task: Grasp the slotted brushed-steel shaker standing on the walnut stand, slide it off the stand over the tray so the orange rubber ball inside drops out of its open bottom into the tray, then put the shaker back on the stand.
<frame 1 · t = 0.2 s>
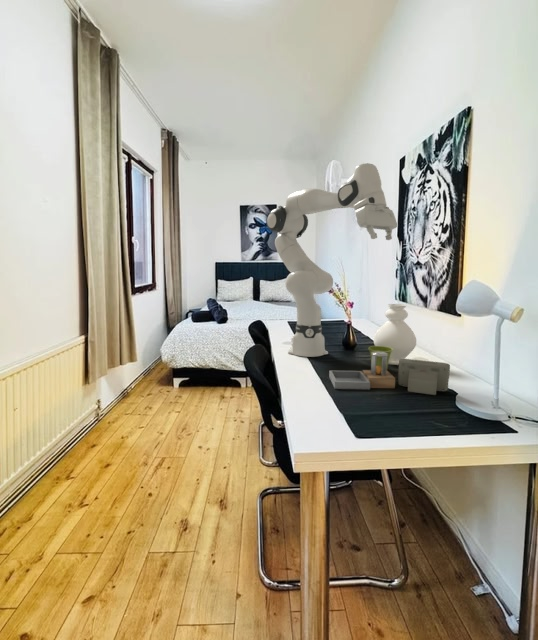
hand: (381, 239, 144), 52 cm above the table, tool tilted 20°, fingers open, 8 cm apart
digital clock: (422, 390, 131), on the table
tray: (348, 382, 137), on the table
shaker: (378, 374, 136), point 3 cm above the table, touching stand
stand: (377, 383, 137), on the table
plant pot: (379, 369, 156), on the table
decorative vase: (393, 361, 169), on the table
ball: (378, 369, 136), point 5 cm above the table, touching stand
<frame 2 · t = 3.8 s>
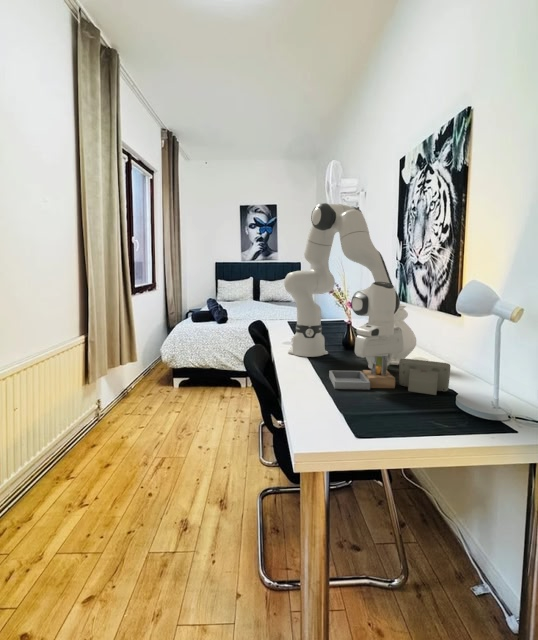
hand: (378, 366, 136), 6 cm above the table, tool pointing down, fingers closed on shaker, 6 cm apart
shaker: (378, 374, 136), point 3 cm above the table, touching gripper, stand
everything else where it was.
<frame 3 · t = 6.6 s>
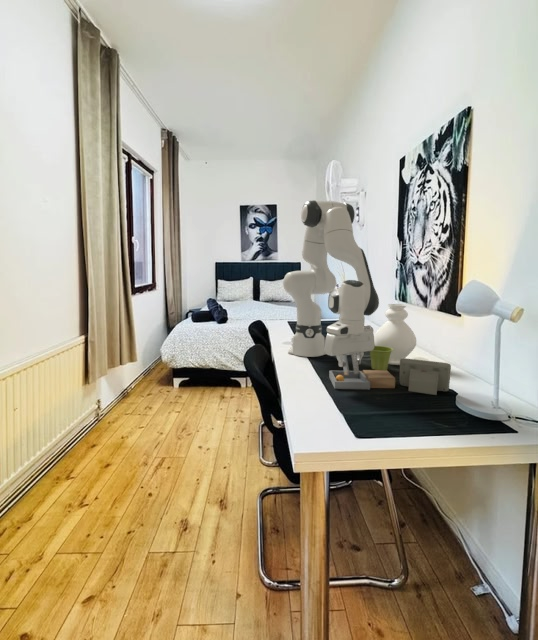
hand: (349, 365, 136), 7 cm above the table, tool pointing down, fingers closed on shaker, 6 cm apart
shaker: (351, 372, 136), point 4 cm above the table, tilted 12°, touching gripper
ball: (339, 379, 135), point 2 cm above the table, tilted 141°, touching tray
everything else where it was.
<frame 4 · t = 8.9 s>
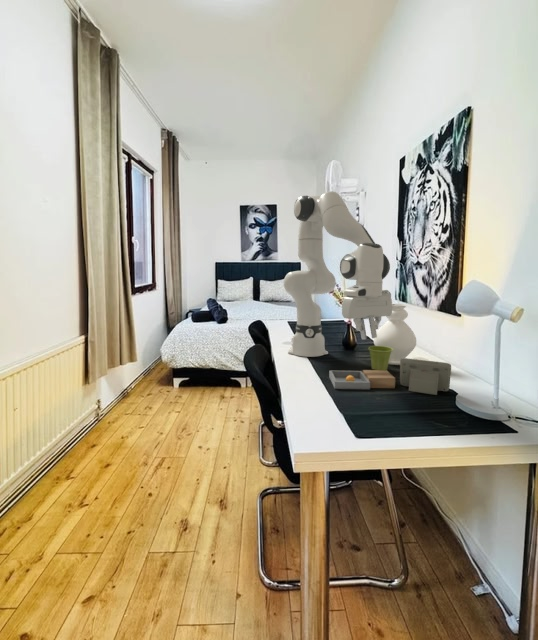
hand: (367, 329, 134), 19 cm above the table, tool pointing down, fingers closed on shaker, 6 cm apart
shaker: (369, 337, 134), point 17 cm above the table, tilted 12°, touching gripper
ball: (350, 379, 135), point 2 cm above the table, touching tray
everything else where it was.
when the fingers open (7 cm above the table, at t = 12.0 s): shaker stays where it is, resting on stand.
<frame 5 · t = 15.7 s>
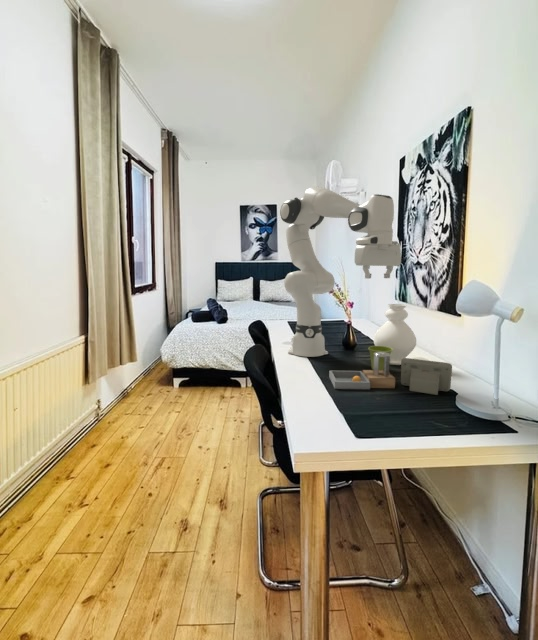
hand: (377, 278, 141), 37 cm above the table, tool pointing down, fingers open, 8 cm apart
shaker: (380, 374, 136), point 3 cm above the table, touching stand
ball: (356, 380, 135), point 2 cm above the table, tilted 83°, touching tray
at the end: ball inside the target area on the tray (3.3 cm from its centre), point 1.8 cm above the tray's base; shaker inside the target area on the stand (1.0 cm from its centre), point 3.5 cm above the stand's base; the gripper is holding nothing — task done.
